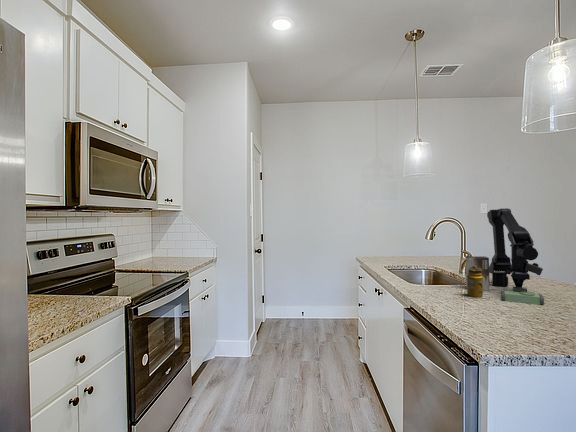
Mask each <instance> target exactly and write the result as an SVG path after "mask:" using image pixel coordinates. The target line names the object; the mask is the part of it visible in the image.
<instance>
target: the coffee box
mask: <svg viewBox="0 0 576 432" xmlns="http://www.w3.org/2000/svg"><path fill="white" fill-rule="evenodd" d="M489 266H490V258H489V257H488V256H479V255H476V256H474V255H473V256H472V255H465V283H466V284H465V287H466V288H467V276H468V270H469V269H477V270H481V271H482V272H481V274H482V275H481V276H482V277H483V292H486V291H487V292H488V291H489V292H490V285H491V284H490V273H489Z"/></svg>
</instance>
